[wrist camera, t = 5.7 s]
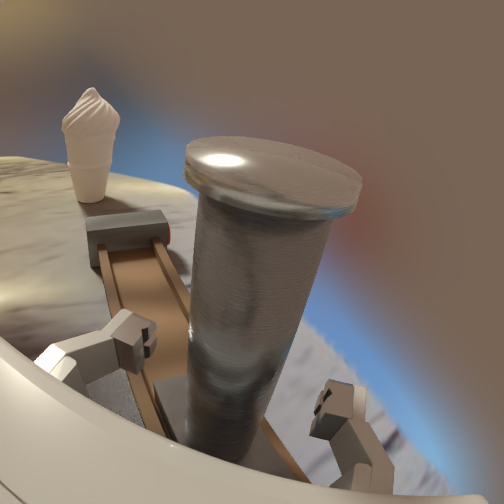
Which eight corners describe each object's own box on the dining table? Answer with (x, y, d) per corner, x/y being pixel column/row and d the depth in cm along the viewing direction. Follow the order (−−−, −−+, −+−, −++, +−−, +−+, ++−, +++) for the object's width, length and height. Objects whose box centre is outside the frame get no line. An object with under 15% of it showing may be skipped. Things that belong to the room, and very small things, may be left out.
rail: (88, 251, 30) (85, 217, 28) (162, 242, 34) (164, 209, 32) (214, 598, 8) (221, 606, 5) (350, 530, 12) (386, 514, 10)
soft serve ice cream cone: (124, 203, 41) (130, 87, 33) (68, 214, 36) (66, 90, 28) (109, 184, 47) (113, 85, 39) (60, 193, 42) (59, 88, 34)
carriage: (155, 401, 16) (150, 122, 9) (218, 384, 18) (261, 127, 11) (215, 524, 10) (325, 269, 3) (287, 493, 12) (469, 235, 5)
